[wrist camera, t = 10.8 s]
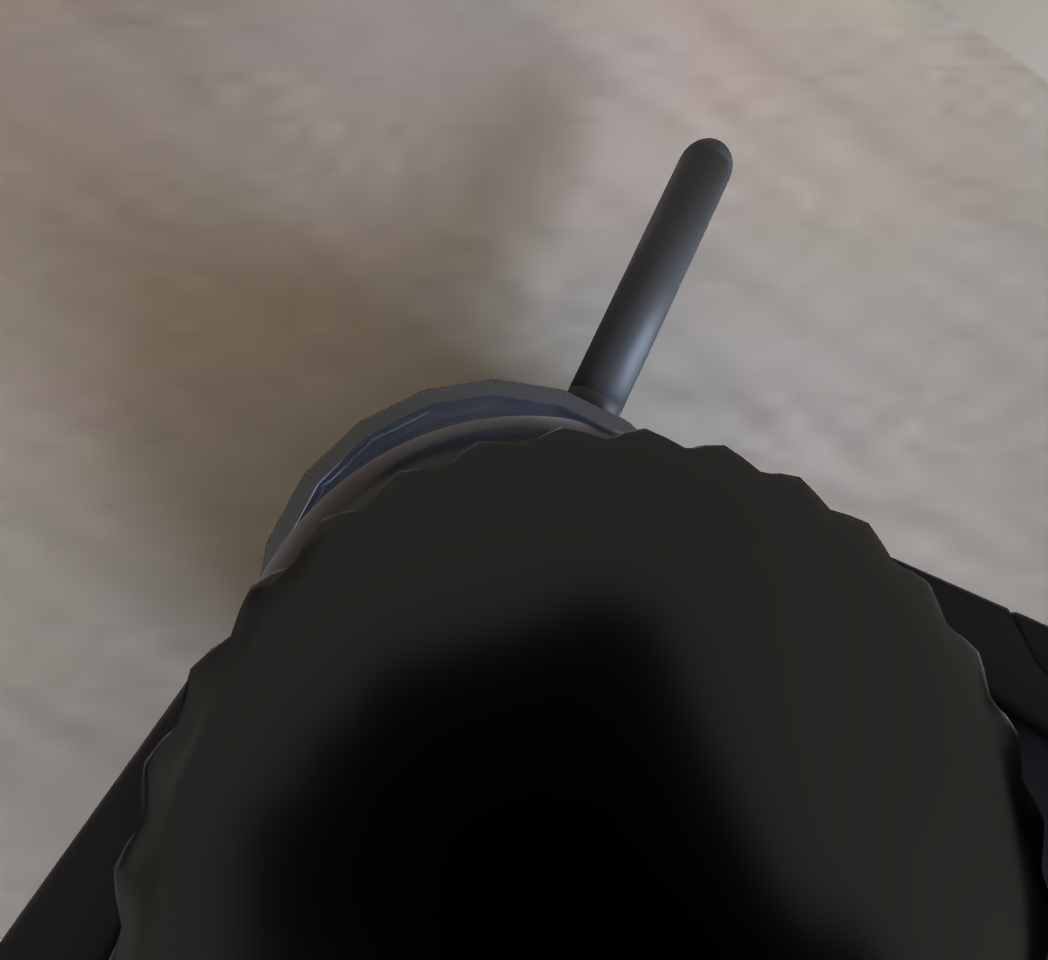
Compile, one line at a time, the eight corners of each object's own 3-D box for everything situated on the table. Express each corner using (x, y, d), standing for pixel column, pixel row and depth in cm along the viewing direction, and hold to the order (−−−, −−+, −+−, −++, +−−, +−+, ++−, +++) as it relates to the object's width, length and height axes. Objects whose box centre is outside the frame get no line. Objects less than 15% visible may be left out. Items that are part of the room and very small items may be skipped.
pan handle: (602, 443, 19) (615, 432, 17) (553, 419, 19) (561, 405, 17) (726, 176, 20) (750, 141, 18) (681, 154, 20) (701, 116, 18)
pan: (584, 862, 19) (614, 949, 15) (229, 694, 19) (159, 735, 15) (731, 511, 21) (794, 502, 17) (411, 355, 21) (395, 306, 16)
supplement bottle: (509, 829, 14) (689, 2397, 2) (305, 639, 14) (-603, 1050, 2) (684, 613, 15) (1469, 815, 3) (492, 439, 15) (539, 15, 3)
